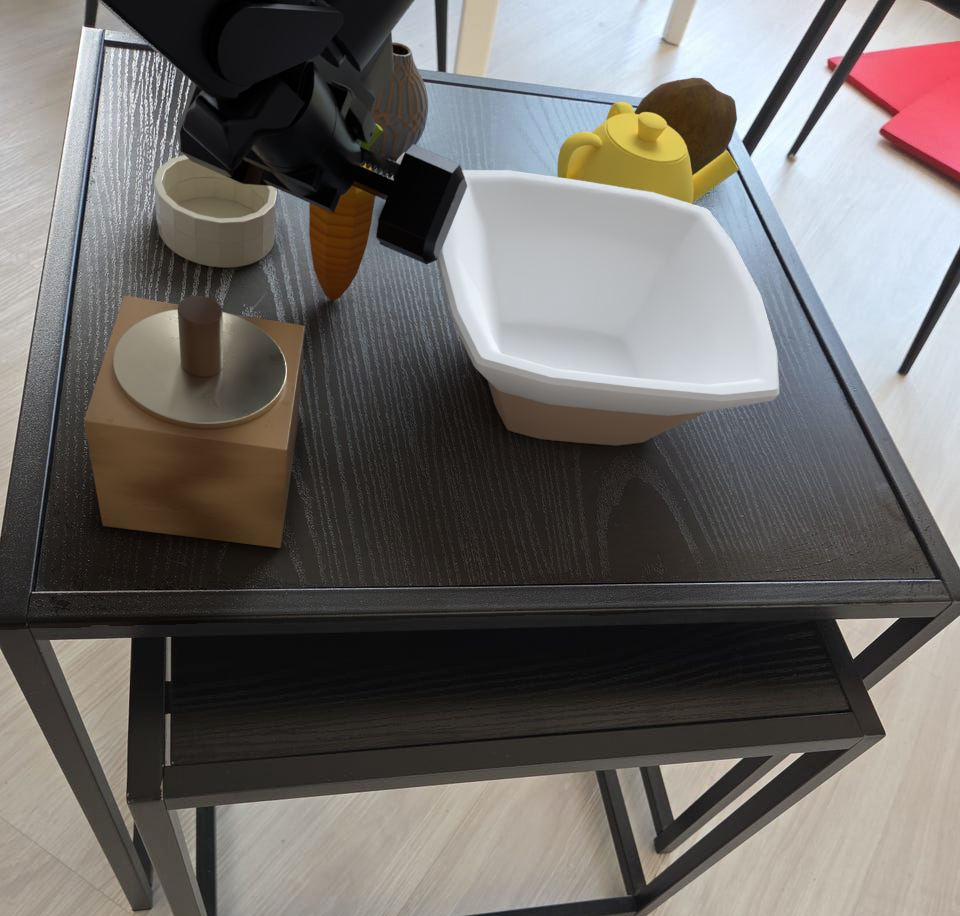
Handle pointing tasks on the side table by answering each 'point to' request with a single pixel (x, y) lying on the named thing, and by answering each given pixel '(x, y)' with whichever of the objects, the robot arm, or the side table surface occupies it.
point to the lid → (200, 366)
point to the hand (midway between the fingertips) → (351, 203)
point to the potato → (695, 116)
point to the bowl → (602, 308)
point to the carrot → (341, 236)
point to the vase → (400, 106)
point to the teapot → (639, 157)
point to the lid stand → (193, 454)
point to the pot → (213, 215)
